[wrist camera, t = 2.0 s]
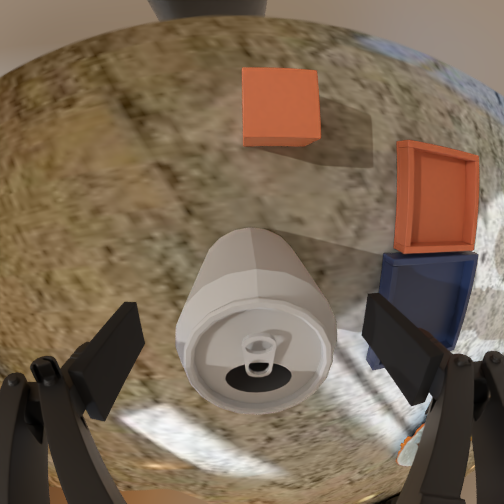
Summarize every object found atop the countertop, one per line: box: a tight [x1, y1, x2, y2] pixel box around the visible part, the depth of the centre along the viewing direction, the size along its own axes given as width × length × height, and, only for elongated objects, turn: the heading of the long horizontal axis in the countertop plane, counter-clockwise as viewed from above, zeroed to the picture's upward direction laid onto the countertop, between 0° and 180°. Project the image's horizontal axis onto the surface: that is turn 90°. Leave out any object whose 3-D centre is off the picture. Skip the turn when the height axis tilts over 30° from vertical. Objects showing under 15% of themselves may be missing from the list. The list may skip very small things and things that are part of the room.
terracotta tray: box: [394, 140, 479, 254], centre depth 20 cm, size 9×9×2 cm
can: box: [176, 227, 337, 415], centre depth 16 cm, size 8×8×12 cm
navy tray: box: [366, 251, 478, 370], centre depth 23 cm, size 11×11×2 cm
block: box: [242, 67, 321, 146], centre depth 17 cm, size 5×5×5 cm
